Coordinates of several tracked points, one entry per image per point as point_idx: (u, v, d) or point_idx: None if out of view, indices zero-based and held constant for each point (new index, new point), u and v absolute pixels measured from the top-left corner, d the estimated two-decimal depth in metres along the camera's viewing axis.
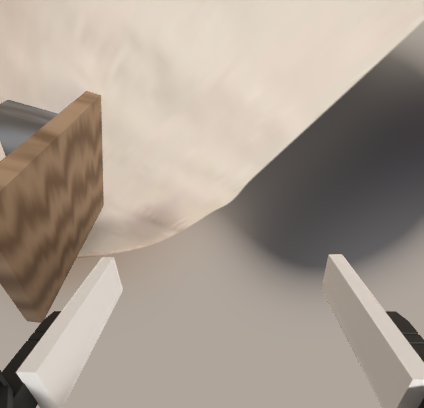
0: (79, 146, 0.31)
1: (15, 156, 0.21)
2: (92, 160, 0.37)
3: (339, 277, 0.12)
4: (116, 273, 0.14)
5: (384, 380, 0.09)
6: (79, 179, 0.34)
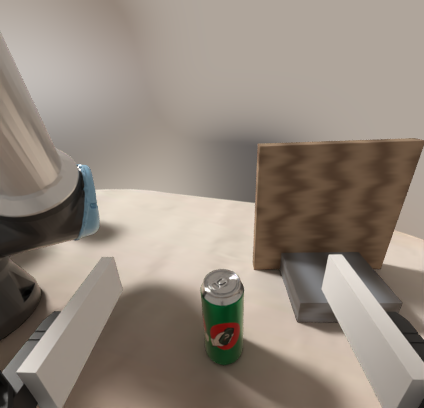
0: None
1: (257, 186, 0.38)
2: None
3: (339, 277, 0.12)
4: (116, 273, 0.14)
5: (384, 380, 0.09)
6: None
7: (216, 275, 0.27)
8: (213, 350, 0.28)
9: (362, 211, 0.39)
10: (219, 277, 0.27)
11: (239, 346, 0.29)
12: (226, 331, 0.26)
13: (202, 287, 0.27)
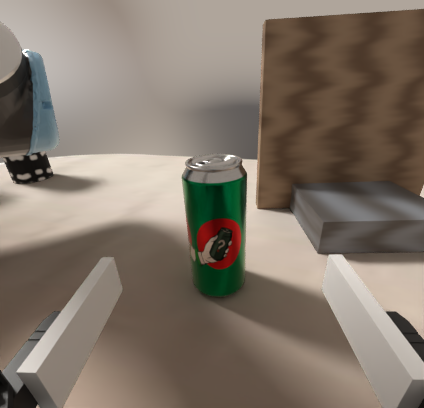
0: None
1: (262, 86, 0.29)
2: None
3: (339, 277, 0.12)
4: (116, 273, 0.14)
5: (384, 380, 0.09)
6: None
7: (206, 156, 0.18)
8: (202, 272, 0.19)
9: (397, 120, 0.30)
10: (210, 158, 0.18)
11: (240, 269, 0.20)
12: (221, 234, 0.17)
13: (184, 170, 0.18)
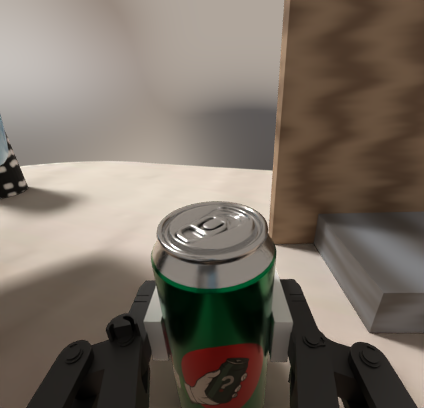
0: None
1: (282, 83, 0.21)
2: None
3: None
4: None
5: None
6: None
7: (199, 211, 0.10)
8: None
9: None
10: (205, 215, 0.10)
11: (259, 398, 0.11)
12: (227, 368, 0.09)
13: (156, 241, 0.09)
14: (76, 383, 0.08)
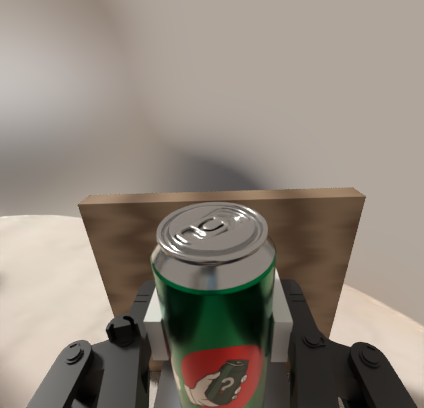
0: None
1: None
2: None
3: None
4: None
5: None
6: None
7: (199, 211, 0.10)
8: None
9: None
10: (205, 216, 0.10)
11: (259, 400, 0.11)
12: (227, 370, 0.09)
13: (156, 242, 0.09)
14: (76, 383, 0.08)
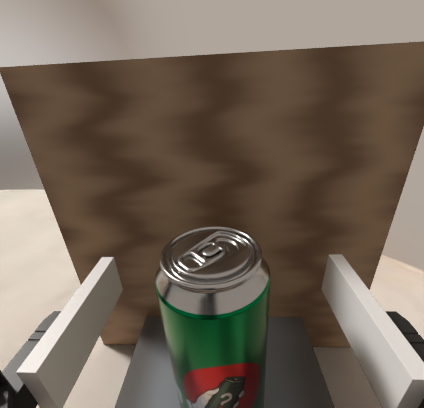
0: None
1: None
2: None
3: (339, 277, 0.12)
4: (116, 273, 0.14)
5: (384, 380, 0.09)
6: None
7: (199, 236, 0.11)
8: None
9: (298, 237, 0.17)
10: (205, 241, 0.11)
11: None
12: (225, 386, 0.10)
13: (159, 266, 0.10)
14: None
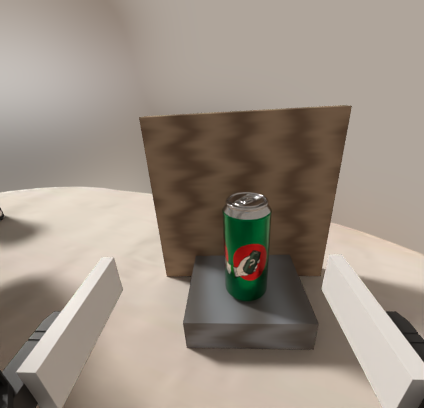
0: None
1: None
2: None
3: (339, 277, 0.12)
4: (116, 273, 0.14)
5: (384, 380, 0.09)
6: None
7: (240, 195, 0.24)
8: (236, 282, 0.25)
9: (285, 203, 0.30)
10: (243, 197, 0.24)
11: (264, 280, 0.26)
12: (252, 255, 0.23)
13: (224, 207, 0.24)
14: None
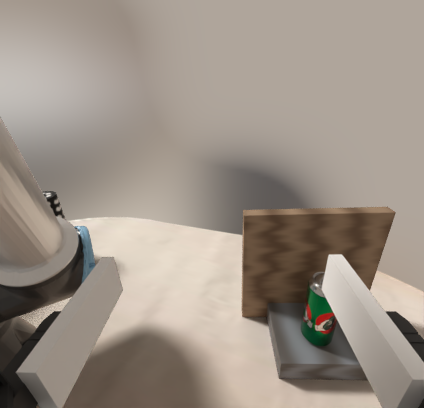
0: None
1: (243, 246, 0.41)
2: None
3: (339, 277, 0.12)
4: (116, 273, 0.14)
5: (384, 380, 0.09)
6: None
7: (320, 276, 0.35)
8: (315, 334, 0.36)
9: None
10: (322, 278, 0.35)
11: None
12: (331, 319, 0.34)
13: (311, 285, 0.35)
14: None
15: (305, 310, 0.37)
